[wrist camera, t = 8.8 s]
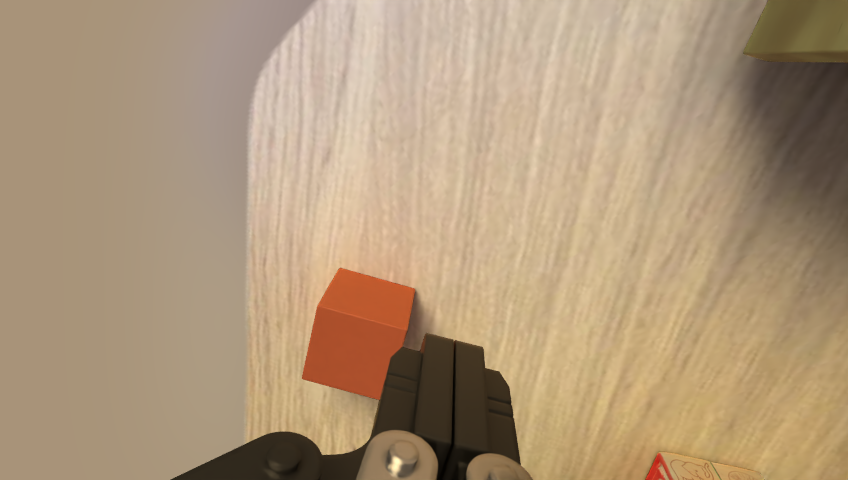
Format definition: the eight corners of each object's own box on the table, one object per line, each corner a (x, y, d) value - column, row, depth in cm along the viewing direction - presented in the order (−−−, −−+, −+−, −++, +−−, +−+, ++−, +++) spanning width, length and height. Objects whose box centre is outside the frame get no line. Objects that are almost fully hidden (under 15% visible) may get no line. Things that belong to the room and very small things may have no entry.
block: (324, 332, 27) (301, 379, 23) (339, 267, 25) (317, 305, 21) (396, 352, 27) (385, 402, 23) (415, 288, 26) (407, 330, 22)
